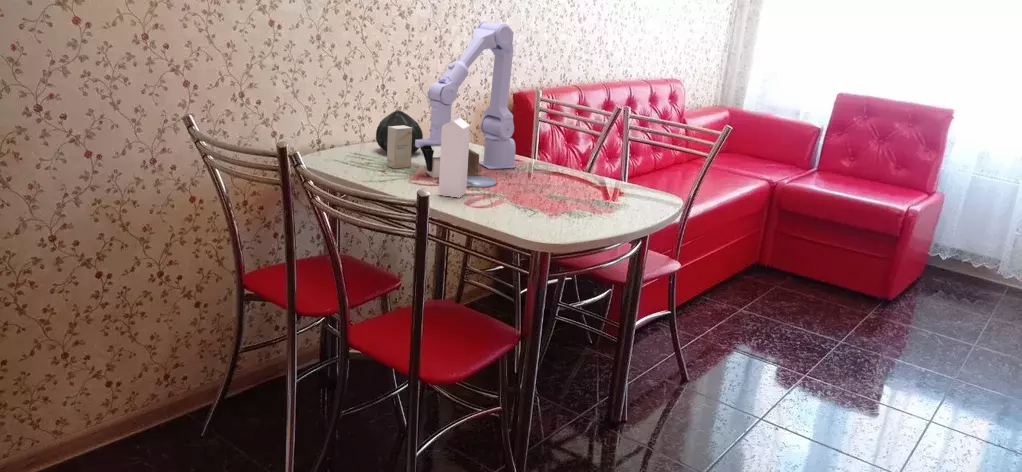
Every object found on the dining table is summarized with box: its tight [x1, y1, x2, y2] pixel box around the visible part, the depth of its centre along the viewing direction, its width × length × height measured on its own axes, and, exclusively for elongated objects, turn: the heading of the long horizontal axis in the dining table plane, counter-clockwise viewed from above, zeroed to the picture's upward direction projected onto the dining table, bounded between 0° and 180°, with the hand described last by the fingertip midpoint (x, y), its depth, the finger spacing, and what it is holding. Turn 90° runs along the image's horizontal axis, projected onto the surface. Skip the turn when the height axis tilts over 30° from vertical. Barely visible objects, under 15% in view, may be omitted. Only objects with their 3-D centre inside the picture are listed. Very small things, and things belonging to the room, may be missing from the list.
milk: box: [438, 111, 471, 199], centre depth 198 cm, size 6×6×22 cm
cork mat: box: [436, 179, 474, 189], centre depth 211 cm, size 8×8×1 cm
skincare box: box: [386, 125, 412, 169], centre depth 224 cm, size 6×4×12 cm
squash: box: [375, 110, 424, 155], centre depth 241 cm, size 14×15×15 cm
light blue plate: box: [467, 175, 497, 189], centre depth 215 cm, size 11×11×1 cm
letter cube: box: [426, 156, 440, 179], centre depth 219 cm, size 5×5×5 cm
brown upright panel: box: [467, 148, 483, 176], centre depth 224 cm, size 4×13×7 cm, turn 27°
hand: (438, 170), depth 219 cm, fingers open, 5 cm apart
